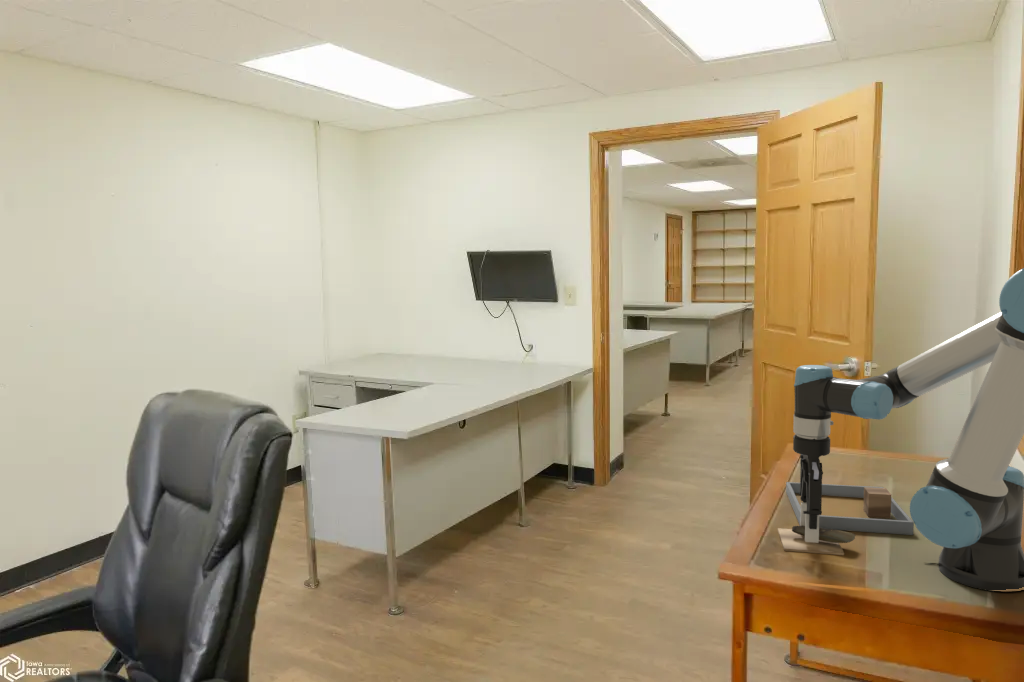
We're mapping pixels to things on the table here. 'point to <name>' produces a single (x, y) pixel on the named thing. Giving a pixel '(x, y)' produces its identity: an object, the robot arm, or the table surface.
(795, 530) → the stone
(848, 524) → the parts tray
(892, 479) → the table surface
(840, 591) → the table surface
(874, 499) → the walnut block
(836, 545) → the cork pad
